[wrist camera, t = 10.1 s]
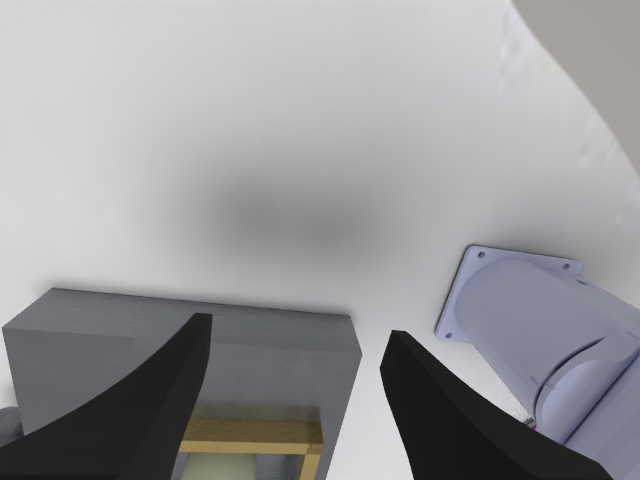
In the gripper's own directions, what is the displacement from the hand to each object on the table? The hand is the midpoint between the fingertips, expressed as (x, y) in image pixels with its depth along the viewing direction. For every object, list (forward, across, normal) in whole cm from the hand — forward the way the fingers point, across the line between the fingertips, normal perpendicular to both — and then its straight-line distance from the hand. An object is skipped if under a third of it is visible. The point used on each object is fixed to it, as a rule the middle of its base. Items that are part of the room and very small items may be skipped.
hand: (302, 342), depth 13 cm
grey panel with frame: (+9, +6, +16) cm, 20 cm away
